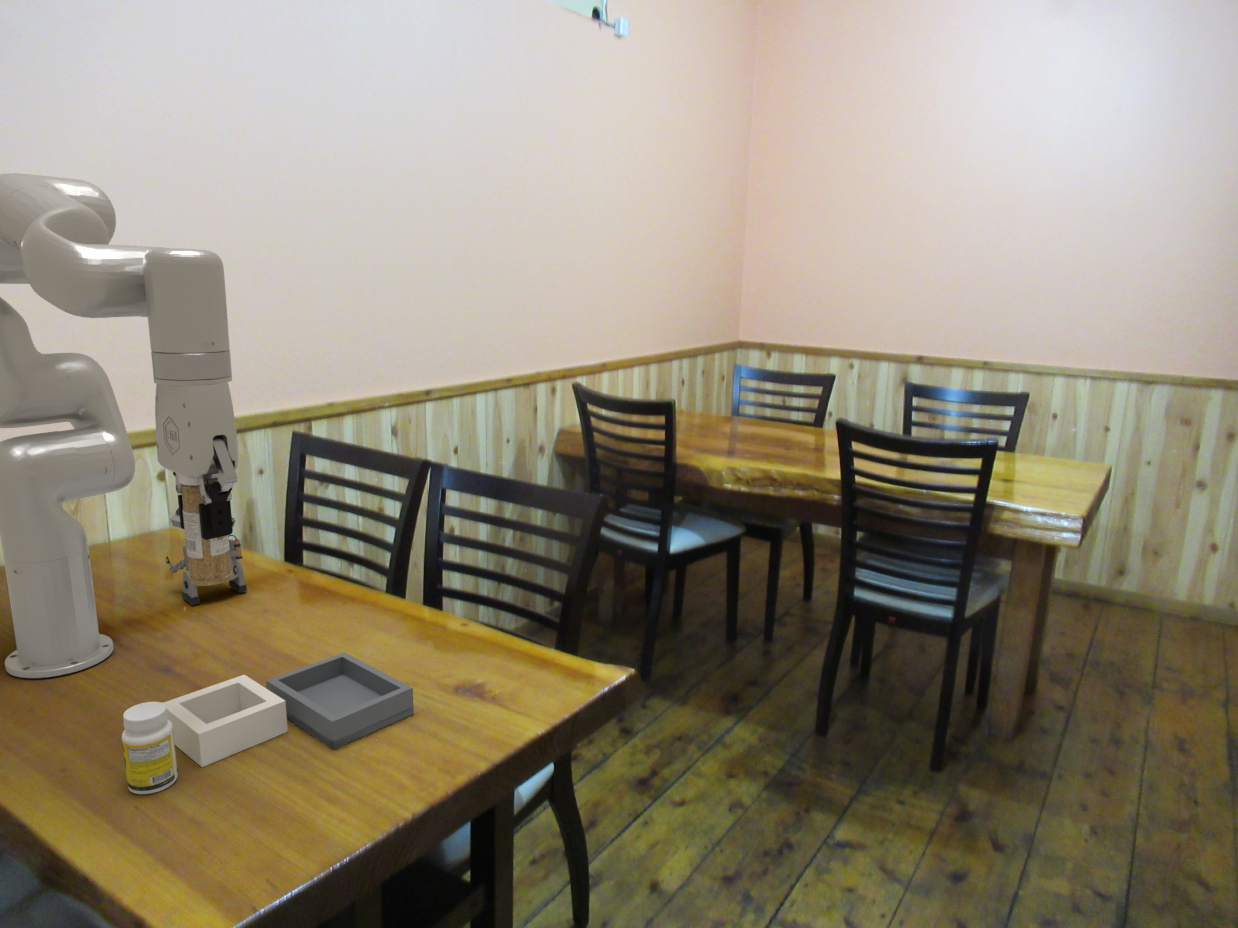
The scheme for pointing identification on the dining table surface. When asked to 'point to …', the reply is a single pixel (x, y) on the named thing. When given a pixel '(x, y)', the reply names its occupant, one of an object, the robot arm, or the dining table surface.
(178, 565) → the figurine
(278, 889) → the dining table surface
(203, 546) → the sprinkles bottle
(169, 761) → the supplement bottle
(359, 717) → the charcoal tray
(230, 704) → the frame
